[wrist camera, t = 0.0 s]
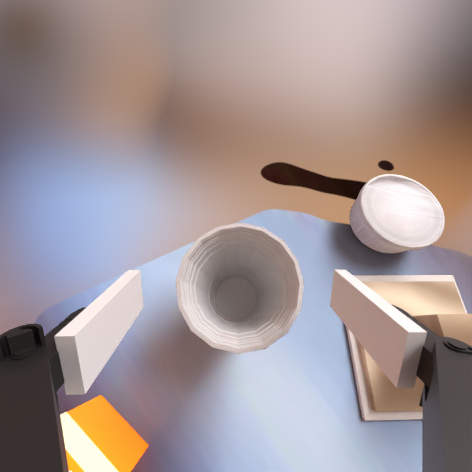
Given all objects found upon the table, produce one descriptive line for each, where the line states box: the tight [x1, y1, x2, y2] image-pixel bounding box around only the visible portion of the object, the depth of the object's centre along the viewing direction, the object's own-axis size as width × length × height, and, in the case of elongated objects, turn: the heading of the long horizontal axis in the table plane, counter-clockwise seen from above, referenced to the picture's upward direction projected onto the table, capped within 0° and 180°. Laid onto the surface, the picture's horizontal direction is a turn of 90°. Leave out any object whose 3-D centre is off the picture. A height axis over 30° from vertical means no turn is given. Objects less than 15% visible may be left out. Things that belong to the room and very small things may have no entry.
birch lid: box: [359, 281, 472, 412], centre depth 25 cm, size 14×14×8 cm
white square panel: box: [346, 275, 467, 421], centre depth 29 cm, size 16×16×1 cm
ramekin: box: [350, 174, 445, 253], centre depth 33 cm, size 11×11×5 cm
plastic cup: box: [176, 223, 304, 354], centre depth 24 cm, size 11×11×12 cm
